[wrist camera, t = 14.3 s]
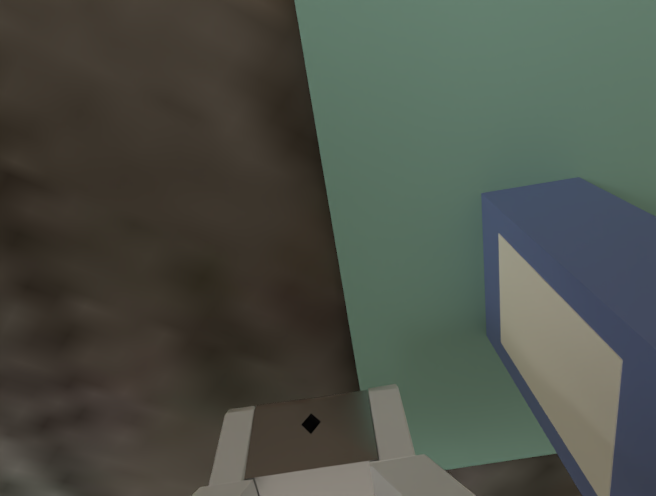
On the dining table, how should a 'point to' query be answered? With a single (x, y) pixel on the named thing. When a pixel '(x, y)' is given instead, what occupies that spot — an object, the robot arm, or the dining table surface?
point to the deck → (578, 324)
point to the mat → (464, 178)
